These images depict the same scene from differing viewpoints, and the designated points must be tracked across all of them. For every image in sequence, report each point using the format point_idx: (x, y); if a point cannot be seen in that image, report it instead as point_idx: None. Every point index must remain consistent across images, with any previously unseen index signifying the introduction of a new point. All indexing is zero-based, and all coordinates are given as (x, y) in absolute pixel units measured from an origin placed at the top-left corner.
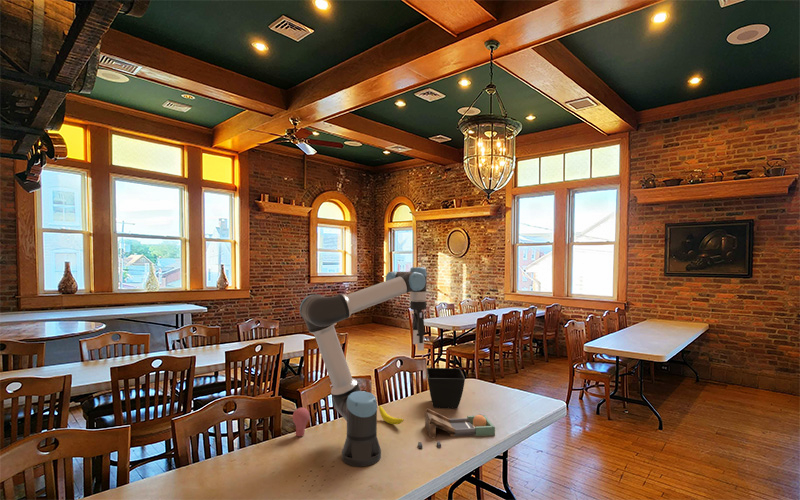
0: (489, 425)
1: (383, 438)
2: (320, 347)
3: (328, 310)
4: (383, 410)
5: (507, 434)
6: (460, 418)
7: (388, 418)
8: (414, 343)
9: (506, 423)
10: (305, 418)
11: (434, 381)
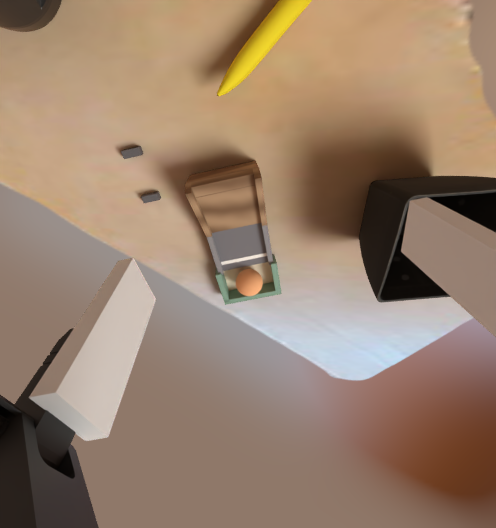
0: (239, 295)
1: (150, 23)
2: None
3: None
4: None
5: (231, 311)
6: (269, 248)
7: (262, 25)
8: (412, 214)
9: (277, 314)
10: None
11: (396, 214)
